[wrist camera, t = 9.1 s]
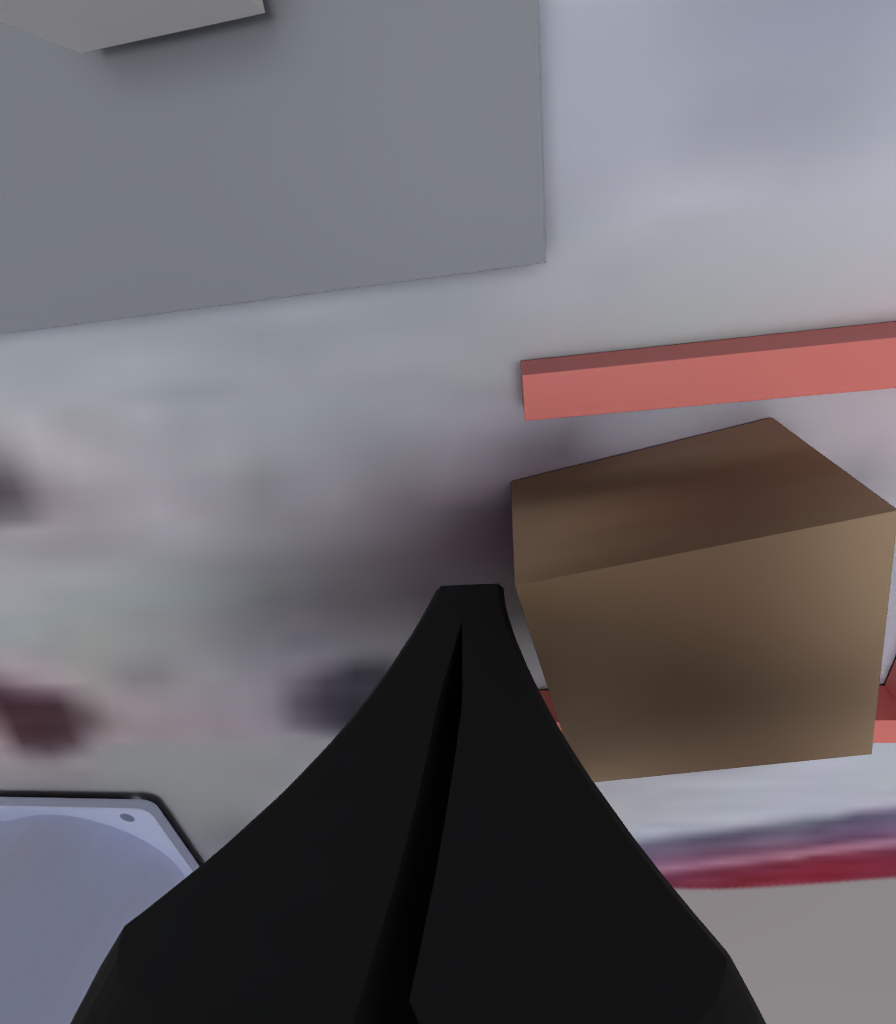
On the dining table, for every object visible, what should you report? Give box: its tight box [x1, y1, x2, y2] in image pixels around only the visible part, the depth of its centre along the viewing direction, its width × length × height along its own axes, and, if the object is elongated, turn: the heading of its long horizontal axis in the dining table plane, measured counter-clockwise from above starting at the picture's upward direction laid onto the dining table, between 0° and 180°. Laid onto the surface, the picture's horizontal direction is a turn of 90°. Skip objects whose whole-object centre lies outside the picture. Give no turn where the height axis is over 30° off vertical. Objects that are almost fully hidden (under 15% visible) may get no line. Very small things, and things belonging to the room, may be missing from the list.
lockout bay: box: [521, 321, 896, 743], centre depth 11 cm, size 9×10×1 cm
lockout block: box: [511, 418, 896, 782], centre depth 10 cm, size 5×5×4 cm
